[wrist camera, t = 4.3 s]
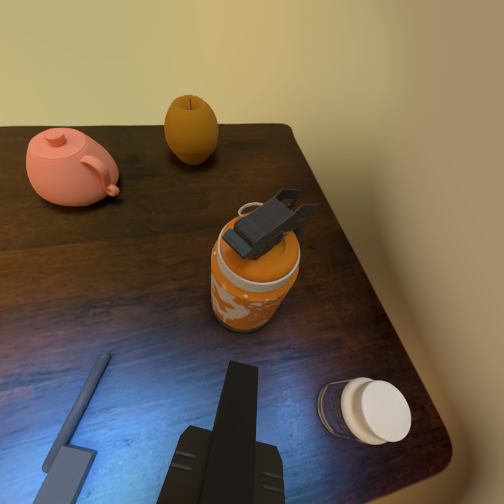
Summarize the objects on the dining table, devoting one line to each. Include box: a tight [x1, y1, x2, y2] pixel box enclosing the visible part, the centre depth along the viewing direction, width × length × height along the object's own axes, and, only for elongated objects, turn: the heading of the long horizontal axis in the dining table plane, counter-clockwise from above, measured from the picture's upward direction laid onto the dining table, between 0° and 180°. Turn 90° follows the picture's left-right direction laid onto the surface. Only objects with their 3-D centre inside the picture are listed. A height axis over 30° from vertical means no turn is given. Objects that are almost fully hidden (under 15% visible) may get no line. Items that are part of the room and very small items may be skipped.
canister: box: [211, 189, 319, 333], centre depth 28 cm, size 9×11×20 cm
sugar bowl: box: [26, 128, 119, 206], centre depth 39 cm, size 12×14×10 cm
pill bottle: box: [318, 378, 411, 445], centre depth 27 cm, size 6×6×10 cm
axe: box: [33, 352, 110, 504], centre depth 26 cm, size 13×4×1 cm, turn 168°
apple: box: [164, 95, 218, 165], centre depth 46 cm, size 10×10×12 cm
